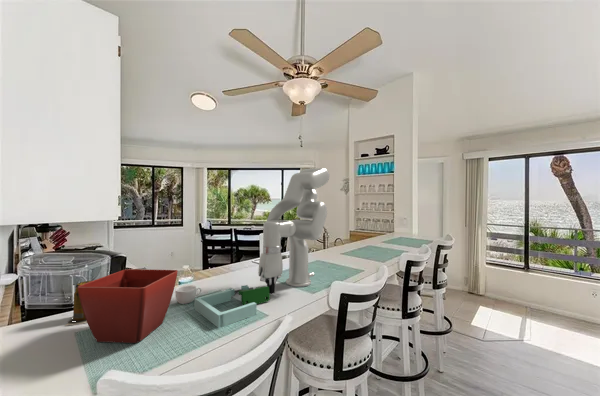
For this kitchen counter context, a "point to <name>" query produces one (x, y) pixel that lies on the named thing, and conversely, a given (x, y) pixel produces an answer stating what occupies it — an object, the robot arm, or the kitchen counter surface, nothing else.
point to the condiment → (77, 308)
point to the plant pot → (127, 303)
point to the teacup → (186, 294)
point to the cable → (241, 289)
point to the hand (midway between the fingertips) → (270, 293)
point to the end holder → (226, 317)
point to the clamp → (255, 295)
